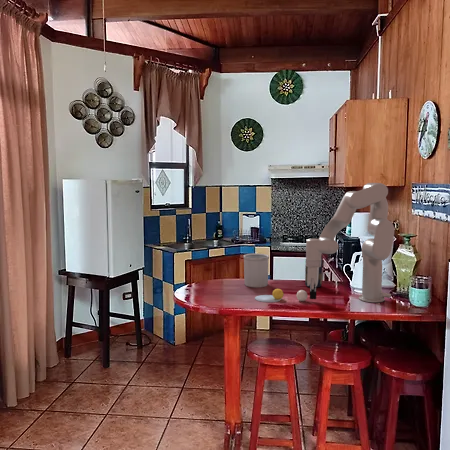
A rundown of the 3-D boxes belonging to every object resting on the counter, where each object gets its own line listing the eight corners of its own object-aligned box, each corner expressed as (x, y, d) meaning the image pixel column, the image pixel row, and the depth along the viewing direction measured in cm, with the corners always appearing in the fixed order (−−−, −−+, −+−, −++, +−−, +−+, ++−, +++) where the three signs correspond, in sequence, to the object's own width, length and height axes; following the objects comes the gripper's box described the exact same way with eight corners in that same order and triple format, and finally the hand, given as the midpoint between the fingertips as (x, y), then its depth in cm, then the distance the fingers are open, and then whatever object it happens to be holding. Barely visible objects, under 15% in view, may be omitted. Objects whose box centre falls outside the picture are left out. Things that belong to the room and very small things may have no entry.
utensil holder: (267, 288, 258) (267, 258, 256) (241, 287, 261) (241, 257, 259) (270, 282, 272) (270, 253, 270) (245, 281, 275) (245, 253, 273)
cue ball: (299, 287, 233) (295, 297, 234) (297, 289, 228) (294, 299, 229) (309, 291, 232) (305, 301, 233) (308, 293, 227) (304, 304, 228)
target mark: (283, 296, 240) (283, 295, 240) (279, 303, 227) (279, 302, 227) (257, 294, 244) (257, 294, 244) (252, 301, 230) (252, 300, 230)
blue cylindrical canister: (301, 285, 264) (302, 255, 262) (315, 283, 268) (315, 253, 266) (311, 289, 255) (312, 257, 254) (325, 287, 259) (325, 256, 257)
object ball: (277, 285, 236) (271, 293, 237) (276, 287, 231) (269, 295, 232) (286, 292, 235) (279, 300, 237) (284, 295, 230) (277, 302, 231)
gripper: (307, 260, 236) (306, 294, 237) (304, 265, 221) (304, 302, 223) (321, 260, 234) (321, 295, 236) (320, 266, 219) (319, 303, 221)
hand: (313, 298), depth 229 cm, fingers closed
